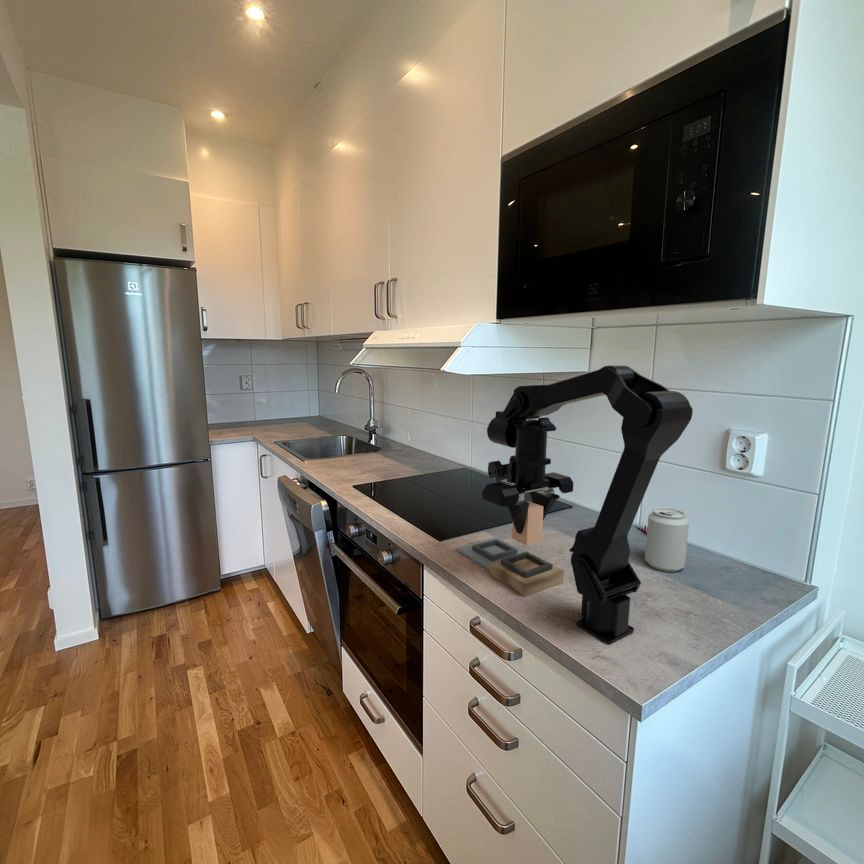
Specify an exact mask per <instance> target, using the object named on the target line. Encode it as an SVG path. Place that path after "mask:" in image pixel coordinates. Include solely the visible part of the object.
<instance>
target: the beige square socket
mask: <svg viewBox="0 0 864 864" xmlns="http://www.w3.org/2000/svg"><path fill="white" fill-rule="evenodd" d="M564 573H565V572H564V570H563V569H561V568H559V567H558V566H555V565H553V563H551V562H548V561H546V560H544V559H542V558H541V557H539V556H536V555H535V554H532V553H531V552H529V551H526V552H524V553H521V554H518V555H514V556H511V557H507V558H504V559H501V560H499V561H495V562H492V563H490V571H489V575H490V576H491V577H492V578H495V579H496V580H497V581H499V582H501V583H502V584H504V585H505V586H507V587H509V588H510V589H512V590H514V591H515V592H516V593H518V594H519V595H522V596H523V597H528V596H531V595H534V594H536V593H539V592H542V591H545V590H547V589H550V588H553V587H554V586H558V585H561V584H563V583H564V576H565V575H564Z"/></svg>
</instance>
